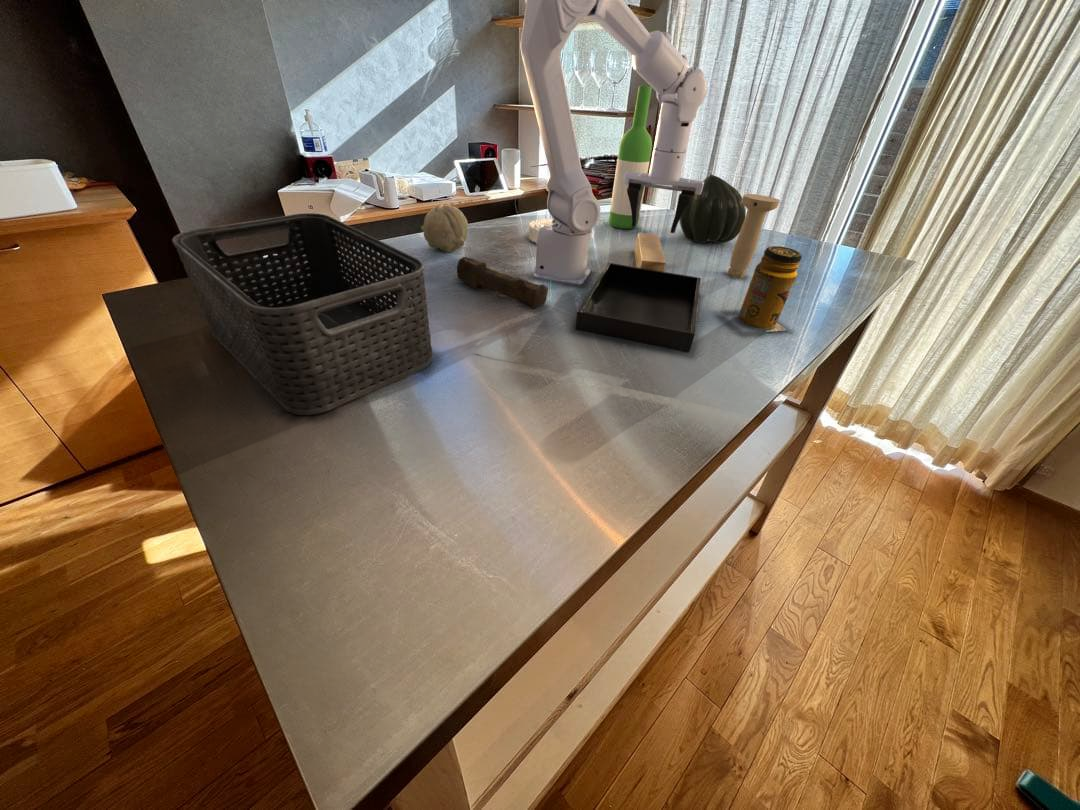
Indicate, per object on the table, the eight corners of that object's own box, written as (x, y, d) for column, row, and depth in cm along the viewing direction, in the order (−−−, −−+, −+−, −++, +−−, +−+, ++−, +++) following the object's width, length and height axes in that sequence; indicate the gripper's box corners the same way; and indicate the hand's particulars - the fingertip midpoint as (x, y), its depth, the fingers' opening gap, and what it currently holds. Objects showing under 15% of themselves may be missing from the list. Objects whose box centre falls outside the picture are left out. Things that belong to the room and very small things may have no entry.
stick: (637, 282, 85) (641, 260, 83) (634, 252, 99) (638, 232, 97) (660, 285, 85) (665, 262, 82) (654, 254, 99) (658, 234, 96)
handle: (746, 283, 88) (774, 203, 79) (715, 274, 91) (739, 196, 82) (755, 277, 91) (783, 199, 82) (725, 268, 94) (749, 192, 85)
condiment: (786, 331, 72) (819, 258, 65) (741, 334, 70) (769, 259, 63) (759, 311, 78) (786, 242, 70) (717, 313, 76) (740, 243, 69)
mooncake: (532, 229, 109) (533, 214, 107) (580, 234, 108) (582, 219, 106) (524, 244, 100) (525, 228, 98) (577, 249, 99) (579, 233, 97)
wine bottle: (607, 228, 114) (627, 85, 96) (608, 220, 120) (628, 84, 102) (637, 231, 113) (664, 87, 95) (637, 223, 119) (662, 86, 101)
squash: (756, 230, 99) (755, 166, 100) (689, 229, 99) (689, 165, 101) (729, 256, 114) (728, 200, 115) (671, 255, 114) (671, 199, 115)
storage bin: (444, 361, 59) (435, 263, 51) (300, 426, 47) (258, 312, 39) (337, 294, 74) (317, 209, 66) (206, 331, 62) (162, 234, 54)
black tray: (574, 331, 68) (577, 311, 66) (605, 279, 86) (607, 262, 84) (688, 354, 64) (694, 334, 62) (695, 295, 82) (700, 277, 80)
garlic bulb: (467, 259, 97) (482, 216, 91) (440, 263, 90) (454, 217, 84) (437, 237, 99) (449, 193, 93) (409, 239, 92) (420, 192, 87)
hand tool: (548, 305, 75) (550, 278, 72) (534, 312, 72) (536, 285, 70) (468, 275, 84) (467, 251, 81) (453, 281, 81) (451, 256, 78)
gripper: (712, 152, 80) (692, 229, 89) (634, 143, 84) (622, 218, 92) (709, 157, 75) (688, 238, 83) (626, 147, 79) (614, 226, 87)
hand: (653, 228), depth 88 cm, fingers open, 7 cm apart
